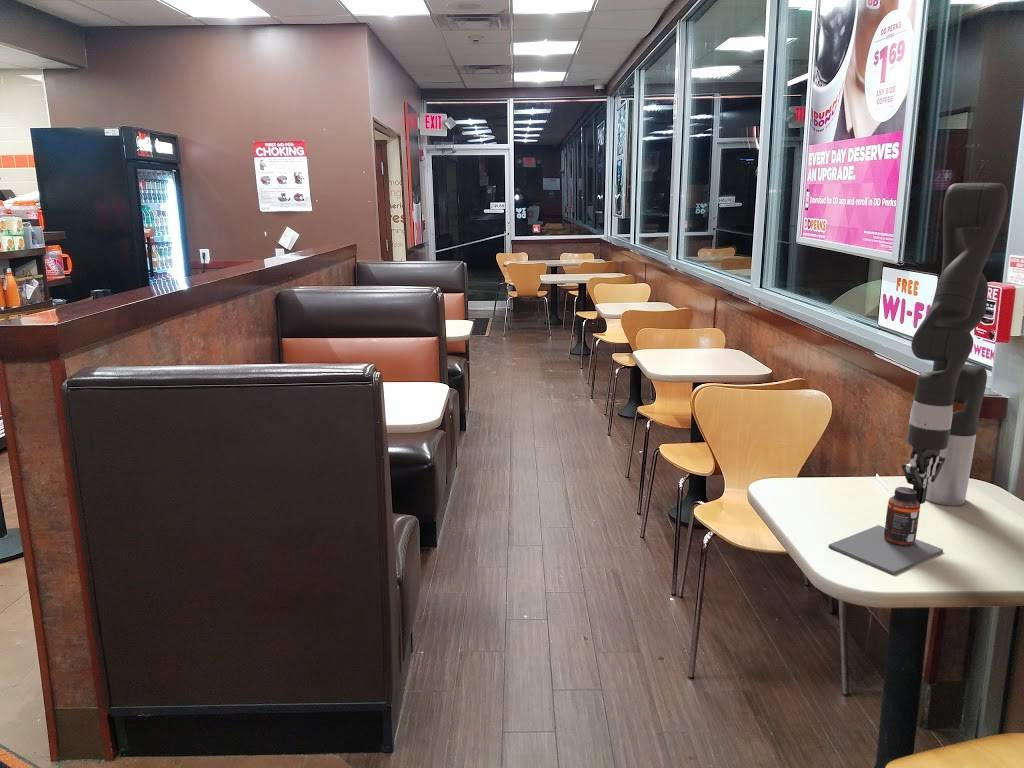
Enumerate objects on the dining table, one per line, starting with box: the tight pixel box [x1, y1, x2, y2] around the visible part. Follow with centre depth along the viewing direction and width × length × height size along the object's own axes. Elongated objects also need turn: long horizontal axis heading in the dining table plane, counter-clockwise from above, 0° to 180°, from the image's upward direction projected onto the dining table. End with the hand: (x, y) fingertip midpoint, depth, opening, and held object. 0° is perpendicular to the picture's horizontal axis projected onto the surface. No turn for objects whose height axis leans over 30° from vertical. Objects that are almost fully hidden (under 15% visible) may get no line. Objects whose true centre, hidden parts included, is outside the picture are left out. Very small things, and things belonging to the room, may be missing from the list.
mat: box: [828, 524, 944, 576], centre depth 156 cm, size 18×14×1 cm
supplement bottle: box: [884, 486, 921, 546], centre depth 158 cm, size 6×6×11 cm
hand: (918, 502), depth 160 cm, fingers closed
